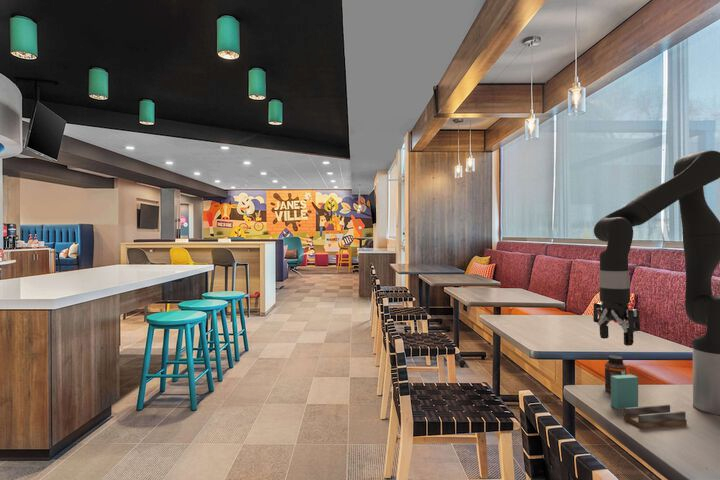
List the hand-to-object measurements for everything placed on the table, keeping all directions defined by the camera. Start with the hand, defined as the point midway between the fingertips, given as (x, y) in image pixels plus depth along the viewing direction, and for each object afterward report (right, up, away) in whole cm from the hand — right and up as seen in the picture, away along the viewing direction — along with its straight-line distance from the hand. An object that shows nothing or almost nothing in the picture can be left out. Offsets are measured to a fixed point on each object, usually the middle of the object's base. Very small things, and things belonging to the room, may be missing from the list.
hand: (615, 341), depth 115 cm
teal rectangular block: (+4, -20, +2) cm, 21 cm away
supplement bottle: (+9, -20, +14) cm, 26 cm away
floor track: (+6, -20, -8) cm, 22 cm away
